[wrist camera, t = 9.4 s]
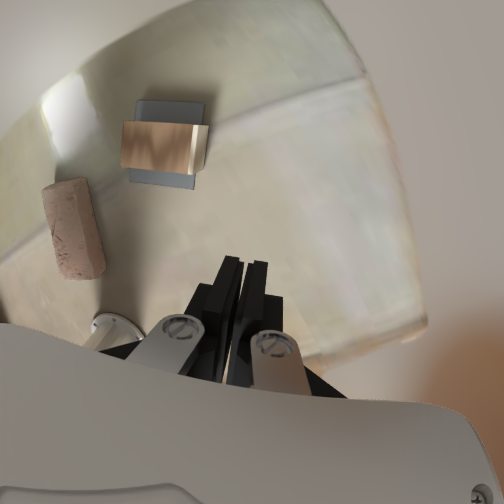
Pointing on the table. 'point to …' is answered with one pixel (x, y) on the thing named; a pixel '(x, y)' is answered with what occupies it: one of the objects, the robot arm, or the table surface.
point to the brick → (74, 230)
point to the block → (164, 146)
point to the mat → (172, 114)
